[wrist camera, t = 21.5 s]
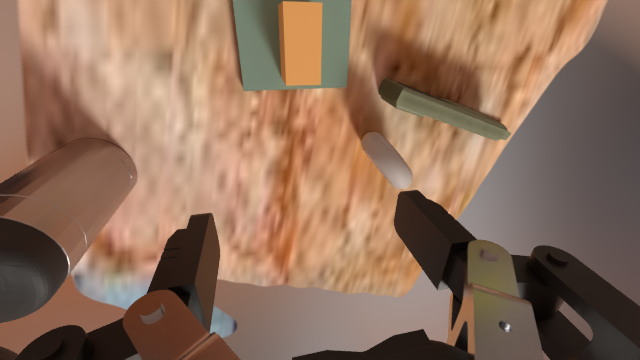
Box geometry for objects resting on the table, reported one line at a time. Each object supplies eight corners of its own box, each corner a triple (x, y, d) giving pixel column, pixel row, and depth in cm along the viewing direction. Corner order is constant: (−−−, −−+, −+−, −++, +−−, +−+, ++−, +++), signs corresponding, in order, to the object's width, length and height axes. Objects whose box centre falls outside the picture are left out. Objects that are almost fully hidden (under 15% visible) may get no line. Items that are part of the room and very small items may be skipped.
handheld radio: (384, 73, 40) (503, 120, 49) (375, 95, 42) (492, 137, 50) (405, 83, 35) (536, 134, 43) (393, 108, 36) (522, 153, 45)
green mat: (243, 89, 37) (243, 90, 36) (231, -11, 32) (231, -12, 31) (344, 85, 40) (346, 87, 39) (348, -7, 34) (351, -8, 33)
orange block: (281, 77, 36) (286, 85, 31) (277, 5, 32) (282, 1, 27) (311, 77, 37) (320, 85, 32) (311, 6, 33) (322, 2, 28)
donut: (348, 133, 43) (372, 159, 35) (366, 118, 43) (394, 141, 34) (380, 173, 48) (408, 205, 40) (396, 161, 48) (428, 190, 39)
